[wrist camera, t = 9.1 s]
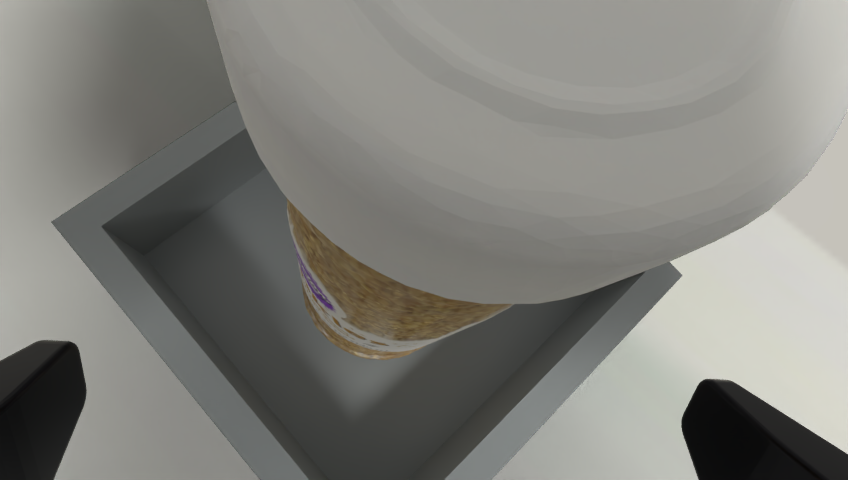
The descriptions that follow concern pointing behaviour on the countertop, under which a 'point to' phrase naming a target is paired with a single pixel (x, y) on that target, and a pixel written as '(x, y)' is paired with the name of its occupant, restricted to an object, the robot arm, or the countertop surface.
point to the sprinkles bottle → (520, 142)
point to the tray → (306, 346)
